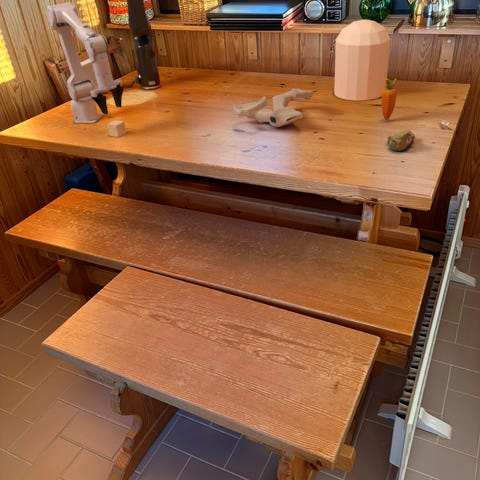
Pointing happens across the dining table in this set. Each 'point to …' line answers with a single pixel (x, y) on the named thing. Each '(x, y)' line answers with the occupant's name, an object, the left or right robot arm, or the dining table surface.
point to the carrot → (388, 99)
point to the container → (361, 61)
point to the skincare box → (89, 70)
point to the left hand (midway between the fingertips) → (112, 110)
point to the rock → (400, 140)
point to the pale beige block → (116, 128)
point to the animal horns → (280, 112)
